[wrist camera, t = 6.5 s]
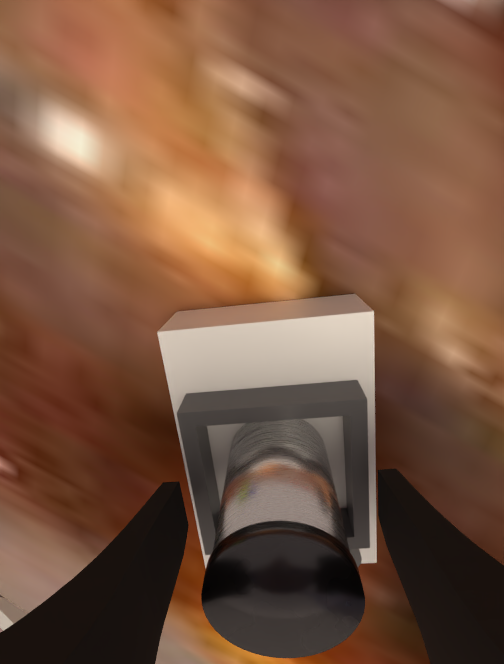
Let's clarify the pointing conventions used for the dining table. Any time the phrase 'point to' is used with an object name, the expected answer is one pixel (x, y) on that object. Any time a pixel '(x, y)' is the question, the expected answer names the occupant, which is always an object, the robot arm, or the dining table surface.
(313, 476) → the lens
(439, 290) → the dining table surface
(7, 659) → the robot arm
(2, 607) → the crossbow
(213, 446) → the camera body
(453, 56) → the dining table surface
